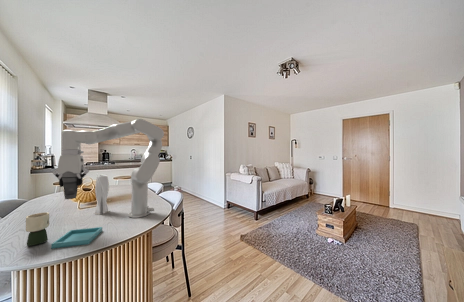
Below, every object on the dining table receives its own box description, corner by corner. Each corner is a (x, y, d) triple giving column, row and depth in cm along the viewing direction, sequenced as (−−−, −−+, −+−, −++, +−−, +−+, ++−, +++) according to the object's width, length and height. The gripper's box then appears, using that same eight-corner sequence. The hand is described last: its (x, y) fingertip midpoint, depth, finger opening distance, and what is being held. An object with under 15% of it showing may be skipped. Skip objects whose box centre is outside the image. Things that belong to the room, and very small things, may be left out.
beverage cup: (69, 196, 96) (69, 160, 96) (83, 196, 96) (83, 160, 96) (57, 200, 89) (57, 161, 89) (72, 200, 89) (72, 161, 89)
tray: (102, 230, 91) (102, 226, 91) (88, 244, 78) (89, 239, 78) (70, 234, 87) (71, 230, 87) (51, 248, 74) (51, 243, 74)
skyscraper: (90, 214, 114) (91, 172, 115) (101, 210, 122) (101, 171, 123) (101, 215, 113) (102, 173, 114) (111, 211, 121) (112, 171, 122)
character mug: (53, 242, 79) (54, 214, 79) (30, 250, 72) (30, 219, 72) (43, 237, 83) (44, 210, 83) (21, 244, 77) (21, 215, 77)
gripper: (93, 153, 99) (93, 183, 98) (56, 153, 94) (56, 185, 94) (86, 153, 91) (86, 186, 91) (45, 153, 87) (45, 188, 86)
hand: (71, 185), depth 92 cm, fingers closed on beverage cup, 6 cm apart
